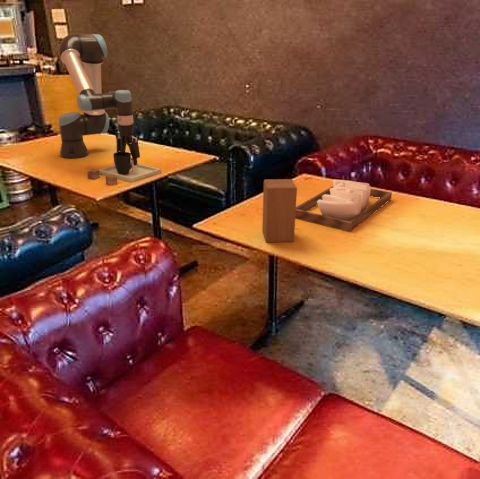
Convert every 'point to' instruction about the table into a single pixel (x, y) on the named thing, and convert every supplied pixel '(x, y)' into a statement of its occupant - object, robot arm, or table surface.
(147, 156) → the table surface
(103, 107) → the robot arm
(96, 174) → the walnut cube
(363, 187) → the white wavy slab sculpture
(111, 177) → the walnut cube
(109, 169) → the tray
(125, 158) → the mug
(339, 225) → the book corral
